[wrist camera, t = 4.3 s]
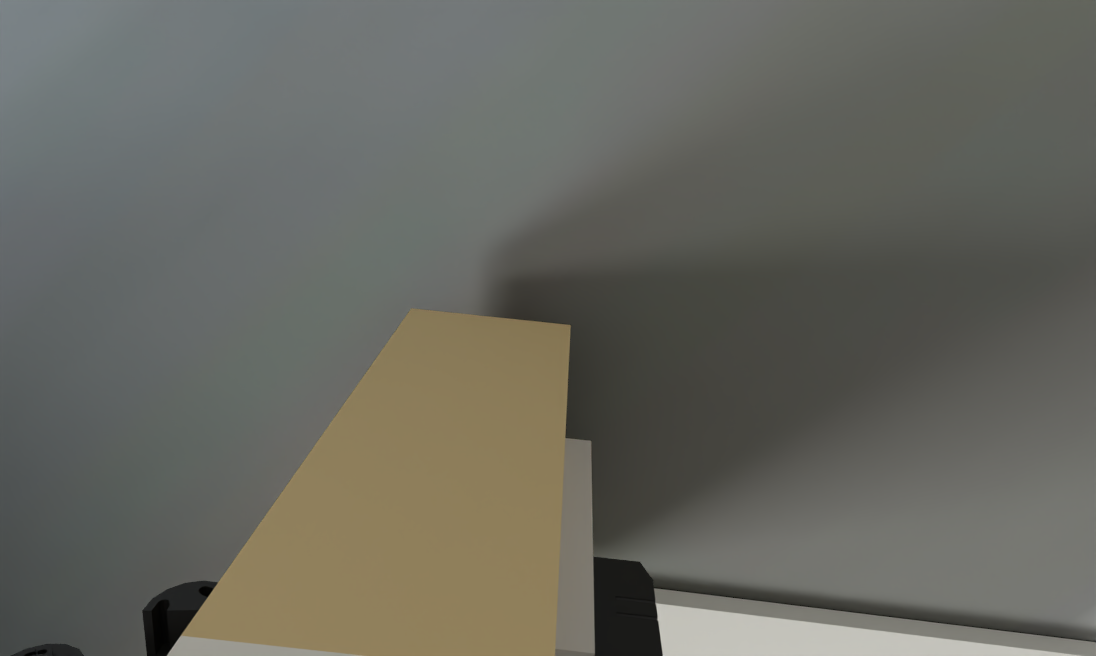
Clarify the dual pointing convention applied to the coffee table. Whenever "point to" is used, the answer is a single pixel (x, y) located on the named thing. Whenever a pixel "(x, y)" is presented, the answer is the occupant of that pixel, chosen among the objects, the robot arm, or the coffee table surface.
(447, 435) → the slab
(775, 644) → the mat
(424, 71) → the coffee table surface
